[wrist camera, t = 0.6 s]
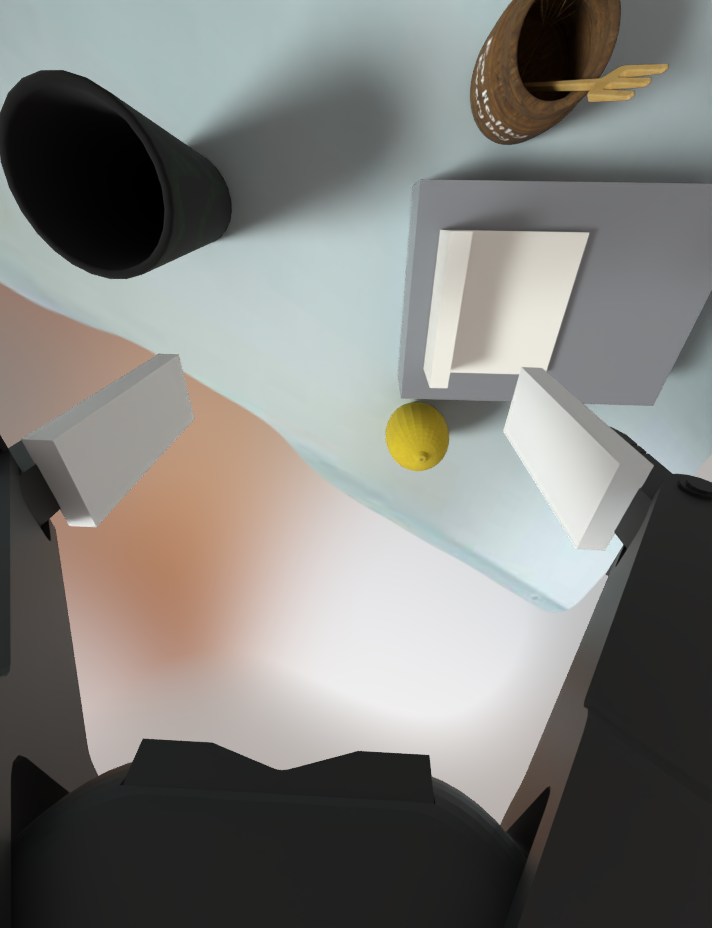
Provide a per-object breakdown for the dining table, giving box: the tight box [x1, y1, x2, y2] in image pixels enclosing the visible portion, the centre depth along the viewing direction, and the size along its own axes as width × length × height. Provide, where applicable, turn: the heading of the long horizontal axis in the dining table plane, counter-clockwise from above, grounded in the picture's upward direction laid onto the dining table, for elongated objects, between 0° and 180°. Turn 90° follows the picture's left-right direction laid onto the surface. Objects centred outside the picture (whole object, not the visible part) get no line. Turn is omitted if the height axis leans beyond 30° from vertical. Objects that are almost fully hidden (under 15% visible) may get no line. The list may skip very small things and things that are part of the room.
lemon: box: [386, 402, 449, 471], centre depth 33 cm, size 6×6×8 cm
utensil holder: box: [470, 0, 669, 145], centre depth 18 cm, size 6×6×12 cm
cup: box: [0, 70, 231, 279], centre depth 22 cm, size 8×8×12 cm
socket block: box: [398, 179, 712, 406], centre depth 27 cm, size 14×20×5 cm
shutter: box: [423, 230, 589, 388], centre depth 24 cm, size 9×9×4 cm
